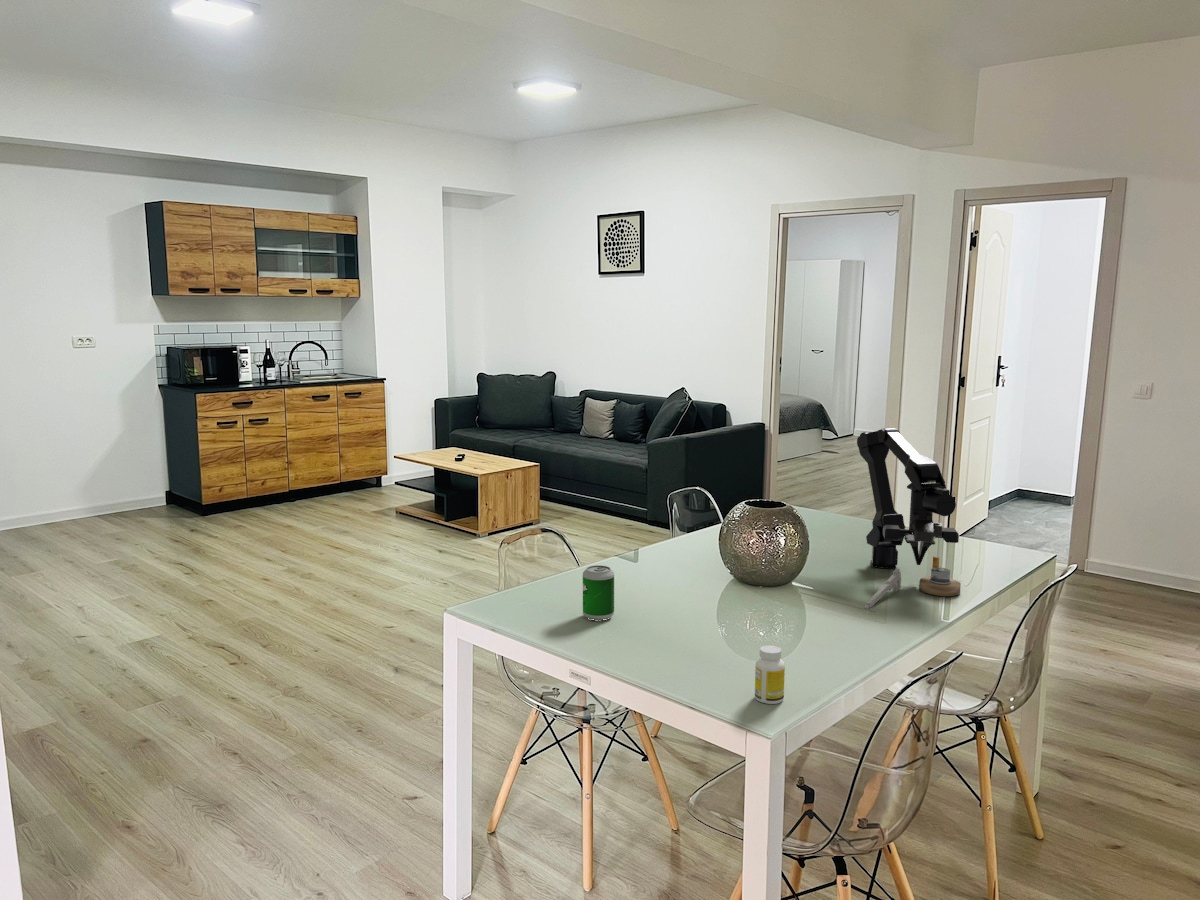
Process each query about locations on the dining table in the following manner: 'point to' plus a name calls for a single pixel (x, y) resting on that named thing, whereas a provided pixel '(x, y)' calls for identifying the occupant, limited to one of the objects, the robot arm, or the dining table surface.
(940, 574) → the cover
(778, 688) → the supplement bottle
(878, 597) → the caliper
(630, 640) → the dining table surface
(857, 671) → the dining table surface
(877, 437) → the robot arm
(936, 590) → the turntable
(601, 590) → the soda can
